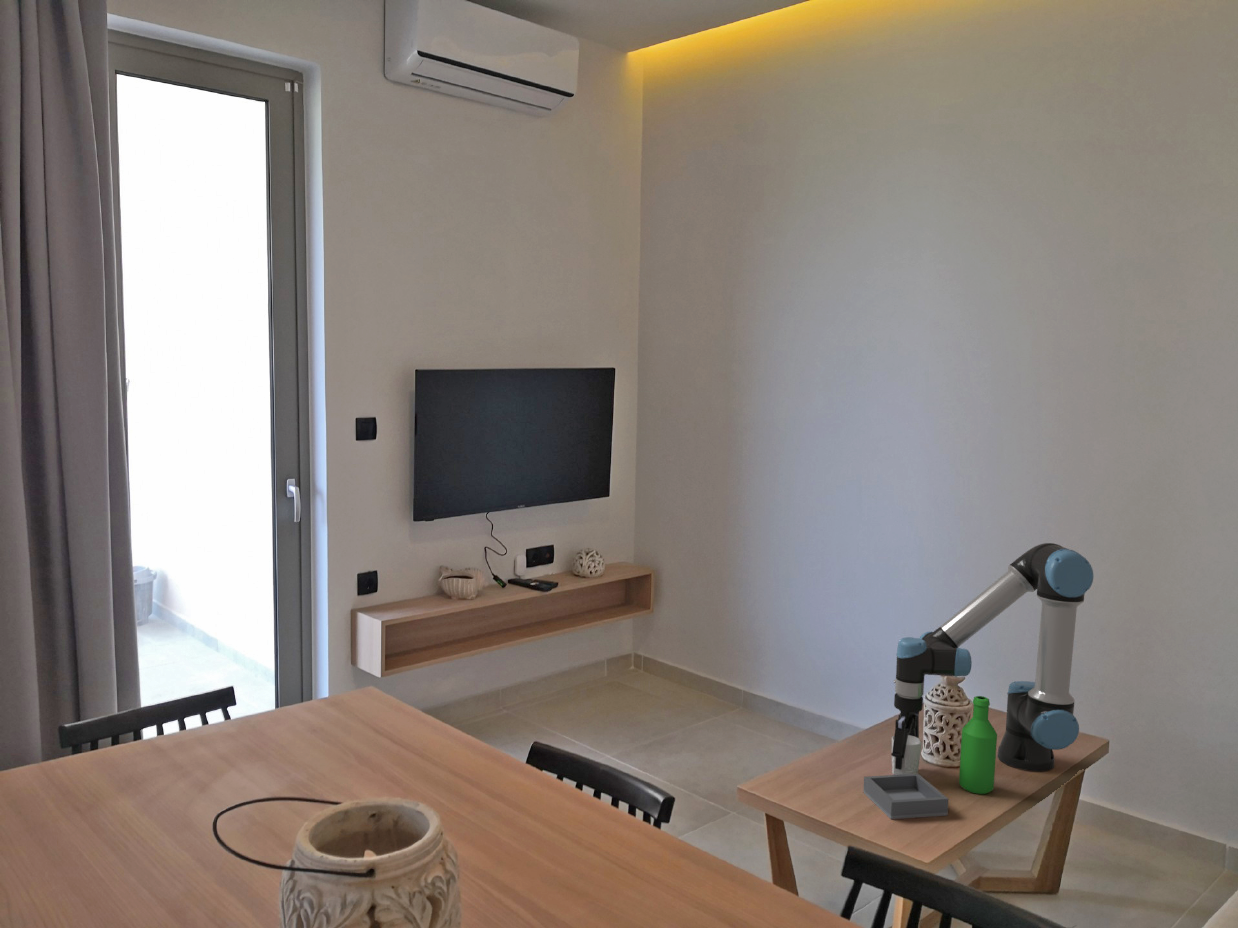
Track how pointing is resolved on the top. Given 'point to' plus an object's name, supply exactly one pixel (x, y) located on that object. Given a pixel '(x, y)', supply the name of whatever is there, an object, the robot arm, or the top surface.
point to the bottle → (978, 750)
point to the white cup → (910, 755)
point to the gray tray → (905, 796)
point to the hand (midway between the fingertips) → (904, 773)
